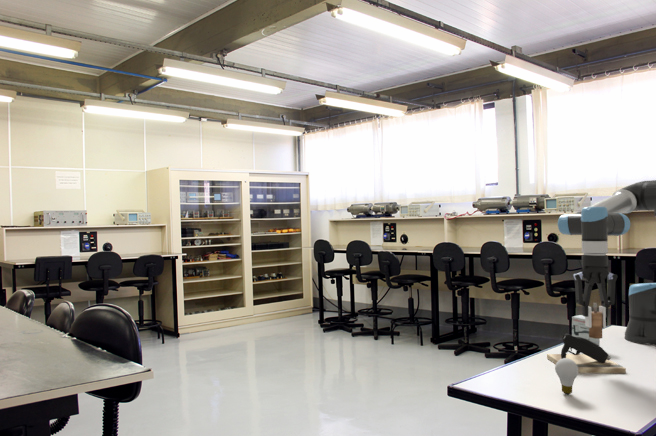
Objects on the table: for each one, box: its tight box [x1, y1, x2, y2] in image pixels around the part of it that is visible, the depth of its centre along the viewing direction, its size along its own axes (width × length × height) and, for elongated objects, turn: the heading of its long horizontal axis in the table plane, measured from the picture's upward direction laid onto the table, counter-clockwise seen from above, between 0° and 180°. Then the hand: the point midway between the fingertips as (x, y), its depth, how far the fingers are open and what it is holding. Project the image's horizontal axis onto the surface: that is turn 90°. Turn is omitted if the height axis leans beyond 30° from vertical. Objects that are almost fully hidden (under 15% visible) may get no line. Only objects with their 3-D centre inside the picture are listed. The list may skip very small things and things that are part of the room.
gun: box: [560, 333, 611, 363], centre depth 166 cm, size 3×16×10 cm, turn 87°
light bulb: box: [554, 358, 579, 396], centre depth 139 cm, size 6×6×10 cm
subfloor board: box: [546, 353, 627, 374], centre depth 167 cm, size 18×17×2 cm
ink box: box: [571, 314, 601, 347], centre depth 190 cm, size 9×5×12 cm, turn 25°
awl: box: [589, 302, 603, 339], centre depth 161 cm, size 4×4×11 cm
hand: (595, 326), depth 161 cm, fingers closed on awl, 4 cm apart
